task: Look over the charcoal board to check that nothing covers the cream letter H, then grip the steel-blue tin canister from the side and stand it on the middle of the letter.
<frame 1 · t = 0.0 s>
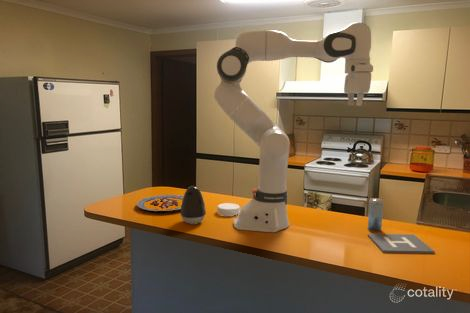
hand: (354, 105, 139), 48 cm above the counter, tool pointing down, fingers open, 8 cm apart
ceramic plate: (165, 207, 170), on the counter
black rounded cylinder: (193, 222, 148), on the counter
coaster: (228, 213, 161), on the counter
letter board: (399, 244, 128), on the counter
canister: (374, 229, 142), on the counter
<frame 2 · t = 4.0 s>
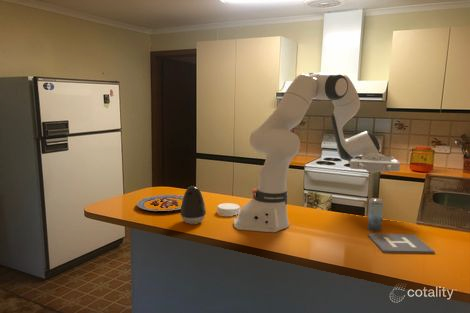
hand: (375, 168, 150), 22 cm above the counter, tool horizontal, fingers open, 8 cm apart
nothing on the counter moved.
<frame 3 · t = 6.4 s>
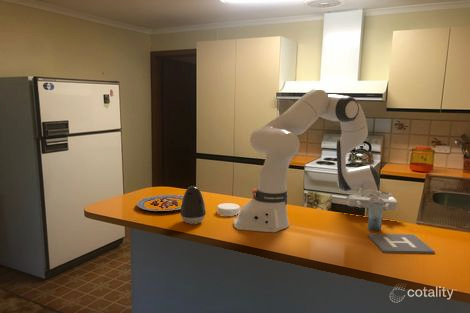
hand: (373, 207, 150), 6 cm above the counter, tool horizontal, fingers open, 8 cm apart
nothing on the counter moved.
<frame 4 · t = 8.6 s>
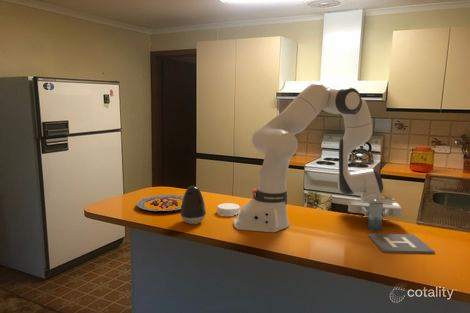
hand: (375, 214, 140), 7 cm above the counter, tool horizontal, fingers closed on canister, 5 cm apart
canister: (374, 229, 142), on the counter, touching gripper
everything else where it was.
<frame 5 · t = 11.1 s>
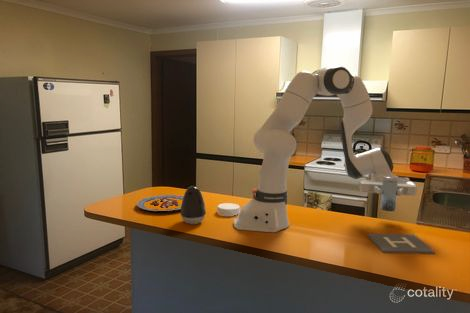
hand: (389, 192, 132), 17 cm above the counter, tool horizontal, fingers closed on canister, 5 cm apart
canister: (388, 209, 134), point 10 cm above the counter, touching gripper
everything else where it was.
when the fingers open (8 cm above the counter, at t = 13.7 s): canister drops 1 cm, resting on letter board.
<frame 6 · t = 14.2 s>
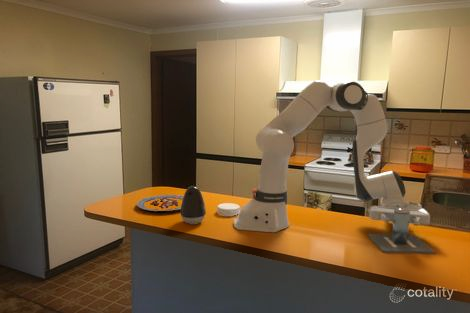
hand: (401, 221, 126), 8 cm above the counter, tool horizontal, fingers open, 8 cm apart
canister: (399, 241, 128), point 1 cm above the counter, touching letter board
everything else where it was.
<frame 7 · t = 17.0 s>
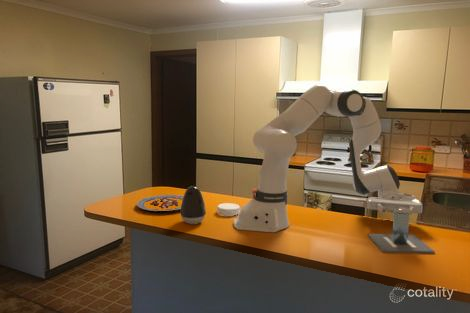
hand: (396, 210, 138), 9 cm above the counter, tool horizontal, fingers open, 8 cm apart
nothing on the counter moved.
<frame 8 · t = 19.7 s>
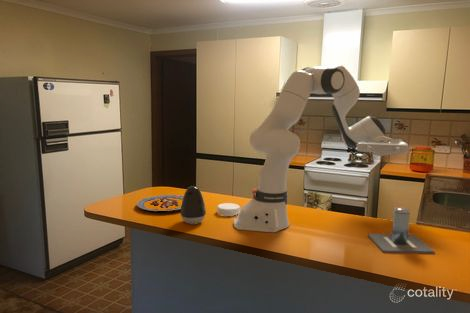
hand: (383, 149, 148), 30 cm above the counter, tool horizontal, fingers open, 8 cm apart
nothing on the counter moved.
at the end: canister 0.0 cm off-centre on the letter board, point 0.8 cm above the letter board's base; canister tilted 0°; the gripper is holding nothing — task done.
